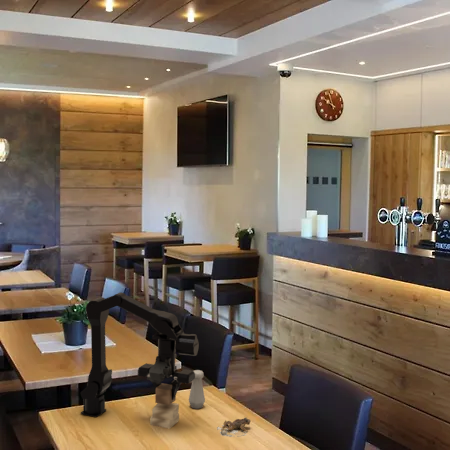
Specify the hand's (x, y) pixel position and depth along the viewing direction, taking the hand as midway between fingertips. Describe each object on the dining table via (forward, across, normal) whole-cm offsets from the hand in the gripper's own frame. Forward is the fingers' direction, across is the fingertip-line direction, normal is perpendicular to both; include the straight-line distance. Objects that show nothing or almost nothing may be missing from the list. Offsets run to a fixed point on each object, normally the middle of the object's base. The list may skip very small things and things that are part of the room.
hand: (165, 398), depth 203 cm
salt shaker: (+8, +4, +17) cm, 19 cm away
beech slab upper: (+6, 0, 0) cm, 6 cm away
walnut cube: (+1, 0, 0) cm, 1 cm away
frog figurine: (+9, +23, +5) cm, 25 cm away
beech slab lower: (+9, 0, 0) cm, 9 cm away
